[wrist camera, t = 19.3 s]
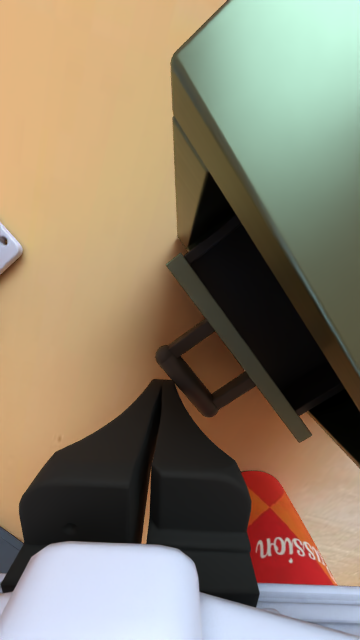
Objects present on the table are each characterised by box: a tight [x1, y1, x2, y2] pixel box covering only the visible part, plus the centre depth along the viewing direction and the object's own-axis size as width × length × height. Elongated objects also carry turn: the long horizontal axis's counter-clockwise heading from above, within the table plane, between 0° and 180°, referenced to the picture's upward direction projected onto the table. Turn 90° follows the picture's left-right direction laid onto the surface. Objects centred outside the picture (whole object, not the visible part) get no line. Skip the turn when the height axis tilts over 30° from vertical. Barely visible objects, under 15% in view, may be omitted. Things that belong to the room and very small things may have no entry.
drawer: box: [155, 214, 345, 443], centre depth 10 cm, size 11×15×4 cm
